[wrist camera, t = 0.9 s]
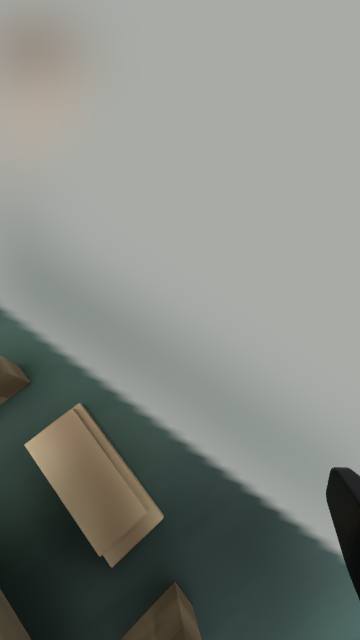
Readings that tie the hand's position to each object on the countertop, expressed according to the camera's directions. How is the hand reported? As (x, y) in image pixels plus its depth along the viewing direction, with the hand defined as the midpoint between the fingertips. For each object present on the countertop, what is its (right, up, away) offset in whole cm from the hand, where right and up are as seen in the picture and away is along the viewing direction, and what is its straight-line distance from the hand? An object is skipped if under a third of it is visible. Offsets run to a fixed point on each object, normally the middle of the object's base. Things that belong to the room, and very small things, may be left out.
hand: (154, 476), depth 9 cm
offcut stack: (-4, -5, +11) cm, 13 cm away
